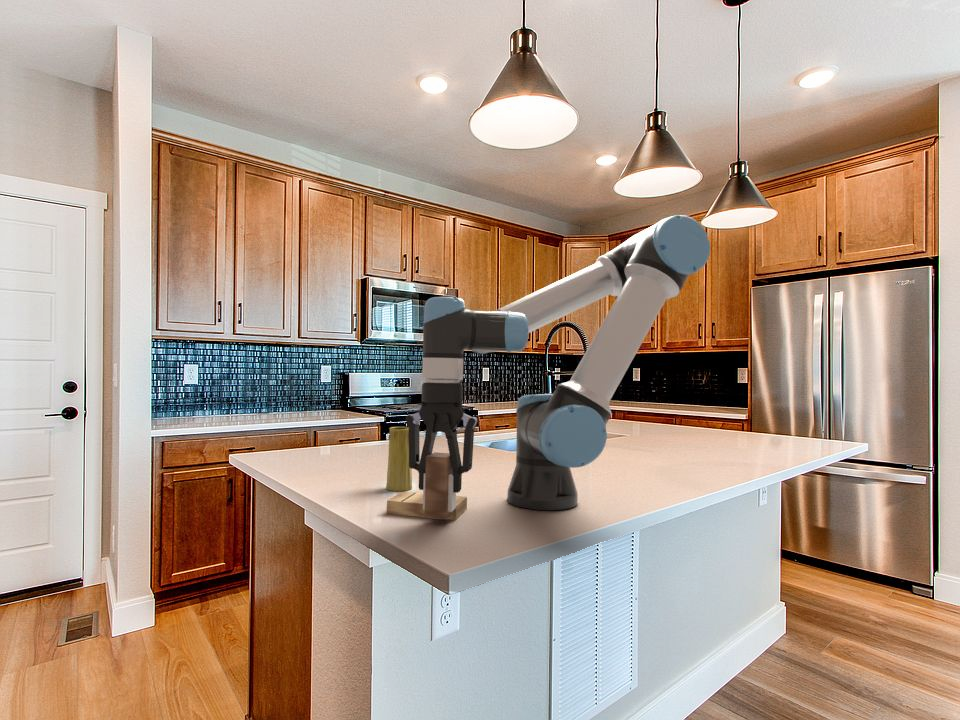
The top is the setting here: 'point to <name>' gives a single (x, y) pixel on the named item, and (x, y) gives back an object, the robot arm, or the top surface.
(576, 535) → the top surface
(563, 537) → the top surface
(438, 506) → the upright wooden block
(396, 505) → the board
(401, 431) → the vase
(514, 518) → the top surface
